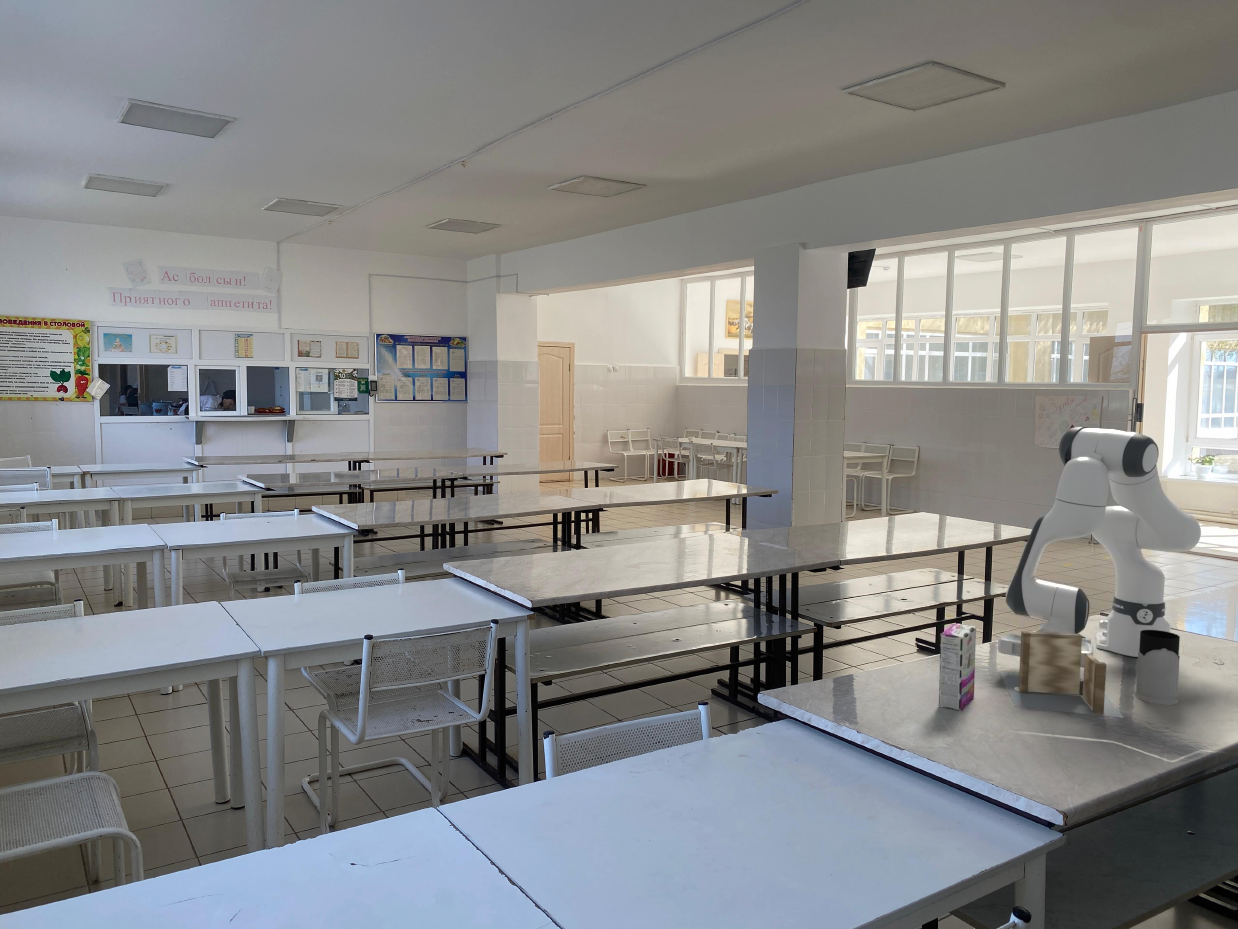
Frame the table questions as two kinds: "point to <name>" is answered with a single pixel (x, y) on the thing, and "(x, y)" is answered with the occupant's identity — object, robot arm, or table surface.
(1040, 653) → the brown wooden panel
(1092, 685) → the bar
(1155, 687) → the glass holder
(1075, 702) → the card
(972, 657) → the candy bar box
